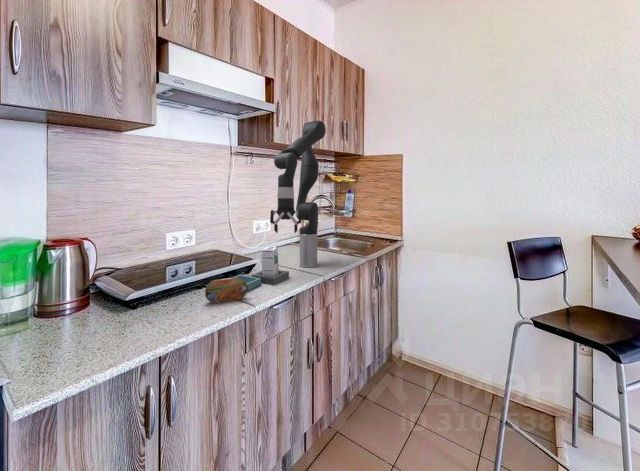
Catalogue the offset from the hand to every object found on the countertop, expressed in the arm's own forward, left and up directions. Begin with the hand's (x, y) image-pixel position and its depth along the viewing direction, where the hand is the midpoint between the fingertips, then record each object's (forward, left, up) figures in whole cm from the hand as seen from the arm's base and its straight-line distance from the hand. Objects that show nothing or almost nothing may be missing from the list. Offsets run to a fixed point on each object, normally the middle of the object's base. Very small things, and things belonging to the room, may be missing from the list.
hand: (285, 232), depth 144 cm
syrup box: (+10, -2, -20) cm, 23 cm away
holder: (+10, -2, -20) cm, 23 cm away
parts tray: (+24, -7, -20) cm, 32 cm away
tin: (+38, -2, -20) cm, 43 cm away
